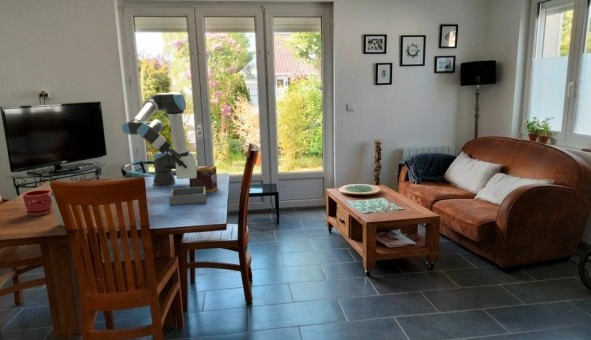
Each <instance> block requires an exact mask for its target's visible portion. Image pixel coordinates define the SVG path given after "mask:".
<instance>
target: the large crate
mask: <svg viewBox="0 0 591 340" xmlns="http://www.w3.org/2000/svg"><path fill="white" fill-rule="evenodd" d="M168 199H169V206H170V207H171V206H186V205H198V204H206V203H207V192H206V190H205V187H191V188H190V187H180V188H171V190H170V194H169V196H168Z"/></svg>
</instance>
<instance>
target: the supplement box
mask: <svg viewBox="0 0 591 340" xmlns="http://www.w3.org/2000/svg"><path fill="white" fill-rule="evenodd" d="M196 171H197V177H196V178H189V179H188V180H189V188H191V187H205V190H206V193H213V192H214V191H215V190H218V176H217V165H196Z"/></svg>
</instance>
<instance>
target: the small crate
mask: <svg viewBox="0 0 591 340" xmlns="http://www.w3.org/2000/svg"><path fill="white" fill-rule="evenodd" d="M180 160H182V161H183V162H184V163H186V164H187V165H188V166H189V167H190V168H192V169H193V170H192V171H191V172H190V173H189V172H188V171H186V170H185V169H184V168H183V167H182V166H180V167H179V165H178V164H177V163H176V169H175V171H176V172H175V173H176V174H175V175H176V180H186V179H187V180H189V178H196V177H197V171H196V166H197V158H196V155H192V156H185V157H181V158H180Z"/></svg>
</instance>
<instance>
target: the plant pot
mask: <svg viewBox="0 0 591 340" xmlns="http://www.w3.org/2000/svg"><path fill="white" fill-rule="evenodd" d="M52 191H53V190H50V189H46V190H45V189H39V190H31V191H27V192H24V193H23V194H22V198H23V202H24V203H23V204H24V206H25V208H26V209H27V211H26V214H27V215H28V216H32V217H34V216H35V217H37V216H44V215H48V214H50V213H51V212H52V211H53V209H52V206H53V204H52V200H51V196H49V193H51V192H52Z"/></svg>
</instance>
